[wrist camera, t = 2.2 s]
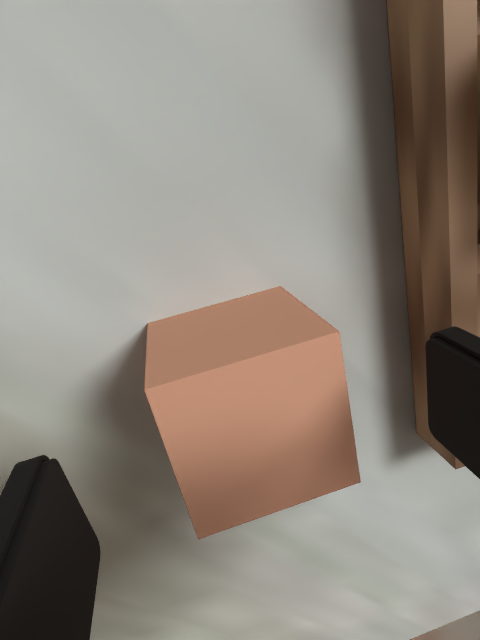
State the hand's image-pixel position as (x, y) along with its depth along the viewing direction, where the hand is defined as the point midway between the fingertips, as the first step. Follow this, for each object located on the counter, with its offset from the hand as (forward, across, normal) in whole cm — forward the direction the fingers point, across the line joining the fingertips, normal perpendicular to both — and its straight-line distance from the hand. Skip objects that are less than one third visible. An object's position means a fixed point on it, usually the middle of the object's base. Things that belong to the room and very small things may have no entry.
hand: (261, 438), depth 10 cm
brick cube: (+6, 0, +1) cm, 6 cm away
